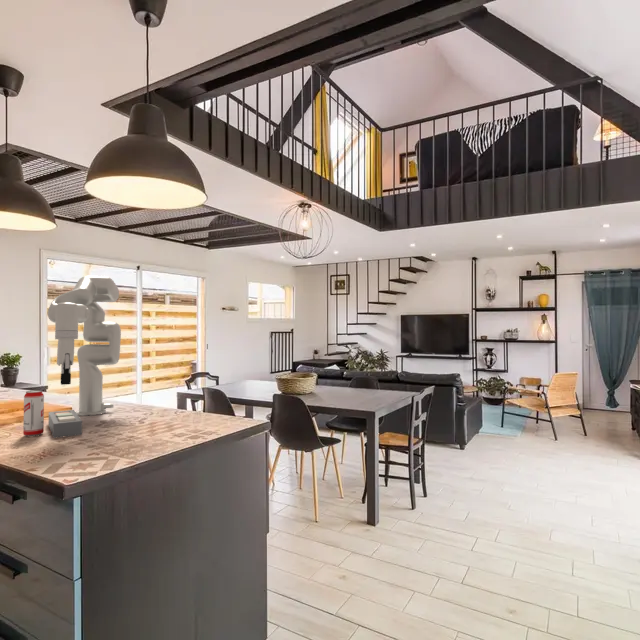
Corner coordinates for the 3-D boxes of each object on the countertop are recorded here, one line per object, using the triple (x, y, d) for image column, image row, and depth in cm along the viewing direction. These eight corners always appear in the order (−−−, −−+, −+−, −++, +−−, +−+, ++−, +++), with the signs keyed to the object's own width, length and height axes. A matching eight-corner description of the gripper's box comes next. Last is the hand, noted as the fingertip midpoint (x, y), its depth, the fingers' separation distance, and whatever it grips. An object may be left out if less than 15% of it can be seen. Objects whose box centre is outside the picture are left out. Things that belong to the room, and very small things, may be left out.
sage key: (71, 419, 177) (71, 412, 177) (72, 421, 173) (72, 414, 173) (56, 420, 174) (56, 413, 174) (57, 422, 170) (57, 416, 170)
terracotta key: (69, 418, 184) (69, 411, 184) (70, 420, 180) (70, 413, 180) (54, 419, 181) (54, 413, 181) (55, 421, 177) (55, 415, 177)
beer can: (41, 432, 169) (41, 389, 169) (45, 435, 164) (46, 391, 165) (21, 435, 164) (22, 391, 165) (25, 438, 160) (26, 392, 160)
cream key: (73, 422, 171) (73, 415, 171) (74, 425, 167) (75, 418, 167) (58, 424, 168) (58, 417, 168) (59, 426, 164) (59, 419, 164)
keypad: (73, 421, 187) (73, 409, 187) (81, 434, 165) (82, 420, 165) (48, 424, 182) (48, 412, 182) (53, 437, 160) (53, 423, 160)
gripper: (53, 335, 174) (52, 383, 173) (56, 335, 162) (55, 386, 161) (75, 335, 178) (74, 382, 177) (80, 335, 166) (79, 385, 165)
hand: (65, 384), depth 169 cm, fingers closed
